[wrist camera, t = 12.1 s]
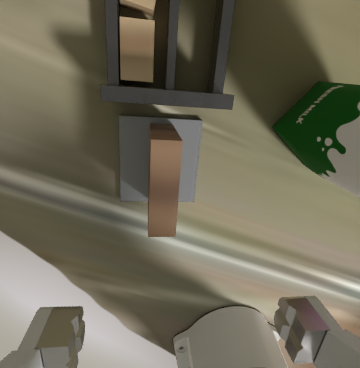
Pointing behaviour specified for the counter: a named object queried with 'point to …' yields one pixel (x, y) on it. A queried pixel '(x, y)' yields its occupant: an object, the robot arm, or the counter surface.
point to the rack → (171, 63)
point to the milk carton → (327, 133)
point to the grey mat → (139, 155)
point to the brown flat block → (163, 179)
